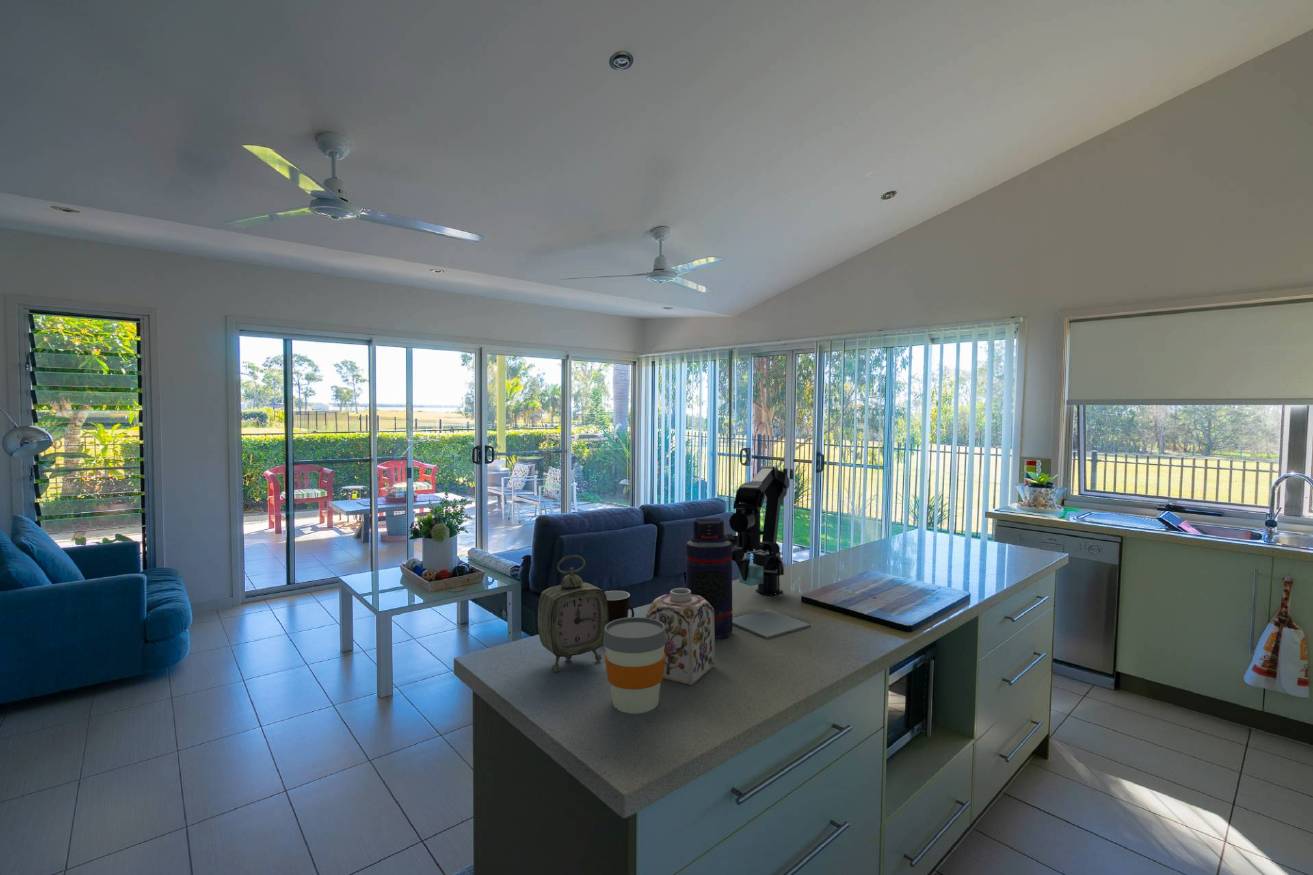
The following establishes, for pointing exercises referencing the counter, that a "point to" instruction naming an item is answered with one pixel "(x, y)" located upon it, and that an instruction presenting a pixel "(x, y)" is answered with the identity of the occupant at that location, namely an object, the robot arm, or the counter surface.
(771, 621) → the slate pad
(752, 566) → the teal block
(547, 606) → the tabletop clock
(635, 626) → the reusable coffee cup
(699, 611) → the decorative jar
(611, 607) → the coffee mug
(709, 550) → the thermos flask
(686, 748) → the counter surface
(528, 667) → the counter surface
